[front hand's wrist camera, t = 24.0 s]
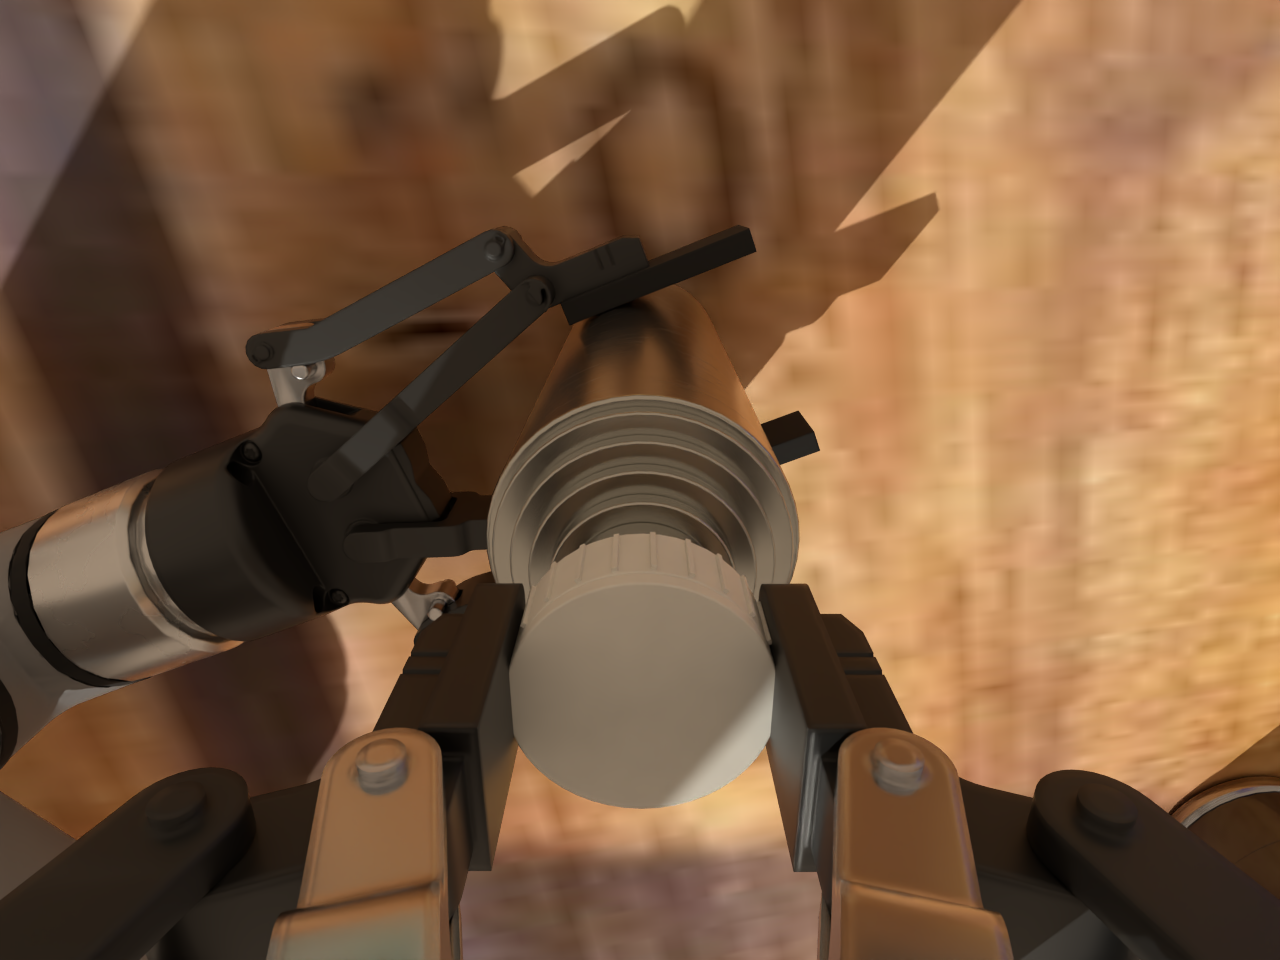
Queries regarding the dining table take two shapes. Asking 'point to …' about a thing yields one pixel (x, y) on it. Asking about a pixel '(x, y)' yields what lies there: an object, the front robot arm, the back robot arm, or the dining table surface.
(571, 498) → the bottle
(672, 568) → the cap
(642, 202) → the dining table surface
